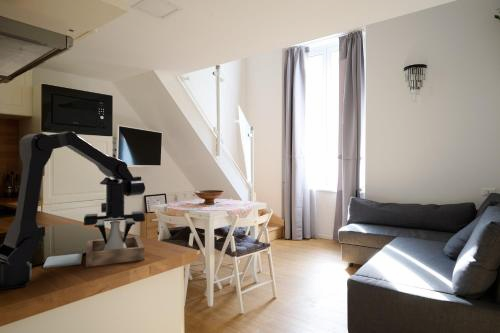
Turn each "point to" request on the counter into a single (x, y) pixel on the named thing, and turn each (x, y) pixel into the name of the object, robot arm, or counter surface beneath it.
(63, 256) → the pale grey flat slab
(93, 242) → the walnut box
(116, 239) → the flask
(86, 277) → the counter surface
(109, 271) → the counter surface
